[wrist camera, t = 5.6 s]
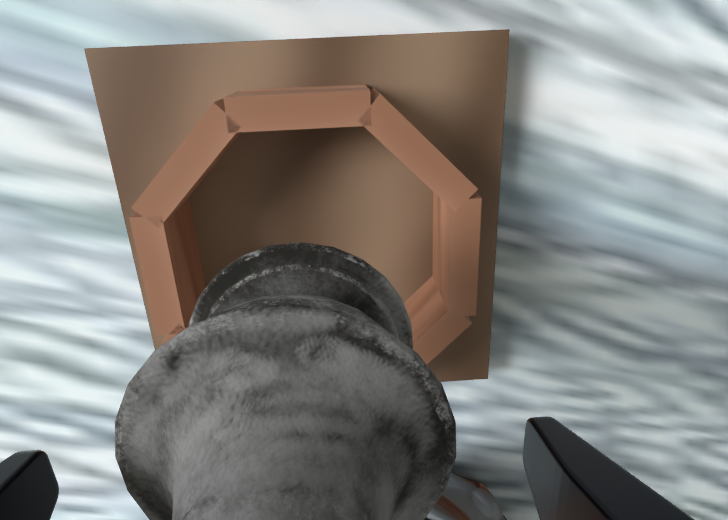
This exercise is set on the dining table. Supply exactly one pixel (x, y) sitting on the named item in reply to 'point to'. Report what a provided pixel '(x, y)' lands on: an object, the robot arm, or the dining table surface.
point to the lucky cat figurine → (465, 502)
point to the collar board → (316, 168)
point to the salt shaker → (288, 400)
